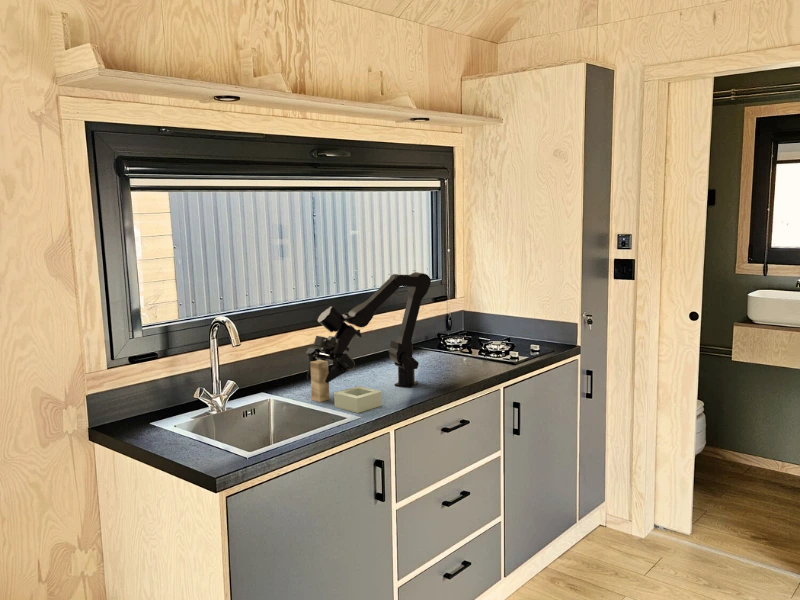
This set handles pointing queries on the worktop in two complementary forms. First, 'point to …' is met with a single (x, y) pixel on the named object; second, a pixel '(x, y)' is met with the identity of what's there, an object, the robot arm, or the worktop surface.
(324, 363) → the peg
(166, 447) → the worktop surface
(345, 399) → the socket block
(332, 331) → the robot arm
